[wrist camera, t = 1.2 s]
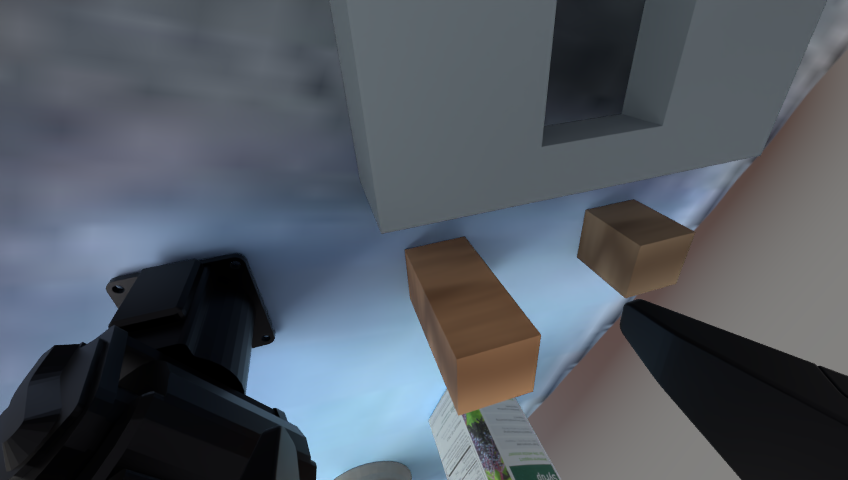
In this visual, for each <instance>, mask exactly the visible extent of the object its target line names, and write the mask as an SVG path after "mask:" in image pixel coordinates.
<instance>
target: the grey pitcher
mask: <svg viewBox="0 0 848 480" xmlns="http://www.w3.org/2000/svg"><path fill="white" fill-rule="evenodd" d="M334 480H412V478H411V472H410V470H409V469H408V467H406V466H405V465H403V464H401V463H398V462H392V461H381V462H373V463H368V464H365V465H361V466H358V467H356V468H353V469H351V470H349V471H347V472H345V473H343V474H341V475H340V476H338V477H337V478H335V479H334Z"/></svg>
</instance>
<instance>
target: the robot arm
mask: <svg viewBox="0 0 848 480" xmlns="http://www.w3.org/2000/svg"><path fill="white" fill-rule="evenodd" d="M233 261H237V262H239V263H240V264H239V265H234V264H232V262H233ZM116 285H119V286H122V287H123V288H124V289H120V288H117V287H116ZM106 290H107V293H108V294H109V296H110V297H111V299H112V300H113V302H114V303H115V304H116V306H117V307H118V310H117V312H116V314H115V315H114V317H113V319H112V320H111V322H110V324H109V326H108V328H109V329H108V330H106V331H105V332H104V333H103V334H101V335H100V336H99V337H97V338H96V339H94V340H93V341H91V342H90V343H88V344H86V343H84V342H82V343H80V344H71V345H54V346H53V347H52V348H50V349H49V350H48V351H47V352H45V353H44V354H43V355H42V356H41V357H40V359H39V360H38V361H37V363H36V364H35V365H34V367H33V368H32V369H31V371H30V372H29V373H28V375H27V376H26V377H25V379H24V380H23V382H22V383H21V384H20V386H19V387H18V389H17V390H16V392H15V394H14V395H13V397H12V399H11V402H10V405H9V407H8V408H7V409H6V410H5V411H4V412H3V413H2V414H1V415H0V480H316V469H317V466H316V463H315V462H314V461H312V460H311V456H310V452H309V448H308V444H307V440H306V437H305V436H304V435H303V433H302V432H301V431H300V430H299V428H298V427H297V426H295V425H293V424H291V423H289V422H288V421H287V418H286V416H285V413H284V412H283V411H281V410H279V409H277V408H273V409H272V408H270V407H268V406H266V405H264V404H262V403H260V402H258V401H256V400H254V399H252V398H250V397H248V396H246V387H247V380H248V372H249V364H250V357H251V349H252V348H255V347H259V346H263V345H267V344H270V343H272V342H273V341H274V339H275V331H274V329H273V326H272V323H271V321H270V318H269V316H268V313H267V311H266V308H265V306H264V303H263V301H262V298H261V295H260V293H259V290H258V288H257V285H256V283H255V280H254V278H253V275H252V272H251V270H250V267H249V265H248V262H247V260H246V258H245V257H244V256H243V255H242V254H238V253H233V254H228V255H223V256H218V257H213V258H208V259H203V260H197V259H191V260H186V261H181V262H176V263H171V264H166V265H161V266H156V267H151V268H146V269H143V270H142V271H141V272H139V273H134V274H129V275H124V276H119V277H115V278H112V279H111V280H110V282H109V283H108V284H107V286H106ZM620 329H621V331H622V333H623V335H624V336H625V338H626V339H627V340H628V342H629V343H630V344H631V346H632V347H633V349H634V350H635V352H636V353H637V354H638V356H639V357H640V359H641V360H642V361H643V363H644V364H645V366H646V367H647V368H648V370H649V371H650V373H651V374H652V375H653V376H654V378H655V379H656V381H657V382H658V383H659V384H660V386H661V387H662V388H663V389H664V391H665V392H666V393H667V394H668V395H669V396H670V397H671V399H672V400H673V401H674V402H675V403H676V404H677V405H678V407H679V408H680V409H681V410H682V411H683V413H684V414H685V415H686V416H687V417H688V418H689V420H690V421H691V422H692V423H693V424H694V425H695V427H696V428H697V429H698V430H699V431H700V432H701V433H702V434H703V436H704V437H705V438H706V439H707V440H708V442H709V443H710V444H711V445H712V446H713V447H714V449H715V450H716V451H717V452H718V453H719V454H720V455H721V457H722V458H723V459H724V460H725V461H726V462H727V464H728V465H729V466H730V467H731V468H732V469H733V471H734V472H735V473H736V474H737V475H738V476H739V478H740V479H741V480H848V376H847V375H844V374H841V373H838V372H835V371H833V370H830V369H828V368H825V367H822V366H817V365H816V364H814V363H811V362H809V361H806V360H803V359H800V358H798V357H795V356H792V355H789V354H787V353H784V352H782V351H779V350H776V349H773V348H771V347H768V346H766V345H763V344H760V343H758V342H755V341H752V340H750V339H747V338H744V337H741V336H739V335H736V334H733V333H730V332H728V331H725V330H723V329H720V328H717V327H715V326H712V325H709V324H706V323H704V322H701V321H699V320H696V319H693V318H691V317H688V316H685V315H683V314H679V313H677V312H674V311H672V310H669V309H666V308H664V307H661V306H658V305H656V304H653V303H650V302H647V301H645V300H642V299H636V300H633V301H630V302H628V303H626V304H625V305H624V307H623V311H622V316H621V320H620ZM264 335H268V337H264Z"/></svg>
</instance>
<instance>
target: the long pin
mask: <svg viewBox="0 0 848 480" xmlns="http://www.w3.org/2000/svg"><path fill="white" fill-rule="evenodd" d="M405 258H406V266H407V275H408V284H409V293H410V299H411V302H412V304H413V307H414V309H415V312H416V314H417V317H418V319H419V321H420V324H421V326H422V329H423V331H424V334H425V336H426V338H427V341H428V343H429V346H430V348H431V351H432V353H433V355H434V358H435V360H436V363H437V365H438V368H439V370H440V373H441V375H442V377H443V380H444V382H445V385H446V387H447V390H448V392H449V394H450V397H451V399H452V402H453V404H454V407H455V409H456V411H457V414H458V416H459V415H462V414H466V413H469V412H472V411H475V410H478V409H481V408H484V407H487V406H490V405H493V404H496V403H499V402H502V401H505V400H508V399H511V398H515V397H518V396H521V395H524V394H527V393H530V392H533V388H534V381H535V374H536V367H537V360H538V353H539V346H540V339H541V334H540V333H539V332H538V330H537V329H536V328H535V326H534V325H533V324H532V323H531V321H530V320H529V319H528V317H527V316H526V315H525V313H524V312H523V311H522V310H521V308H520V307H519V306H518V304H517V303H516V302H515V301H514V299H513V298H512V297H511V295H510V294H509V293H508V292H507V290H506V289H505V288H504V286H503V285H502V284H501V283H500V281H499V280H498V279H497V277H496V276H495V275H494V274H493V272H492V271H491V270H490V268H489V267H488V266H487V264H486V263H485V262H484V261H483V259H482V258H481V257H480V255H479V254H478V253H477V252H476V250H475V249H474V248H473V246H472V245H471V244H470V243H469V241H468V240H467V239H466V237H465V236H464V237H460V238H455V239H451V240H446V241H442V242H437V243H432V244H428V245H423V246H419V247H414V248H410V249H405Z"/></svg>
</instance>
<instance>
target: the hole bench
mask: <svg viewBox="0 0 848 480" xmlns="http://www.w3.org/2000/svg"><path fill="white" fill-rule="evenodd" d="M329 1H330V7H331V13H332V19H333V25H334V31H335V37H336V42H337V48H338V54H339V60H340V66H341V72H342V78H343V84H344V89H345V95H346V101H347V107H348V113H349V119H350V125H351V131H352V137H353V142H354V148H355V154H356V160H357V166H358V172H359V178H360V182H361V184H362V187H363V189H364V192H365V194H366V197H367V199H368V202H369V204H370V207H371V209H372V212H373V214H374V217H375V219H376V222H377V224H378V227H379V230H380V232H381V234H384V233H389V232H393V231H398V230H403V229H408V228H413V227H418V226H422V225H427V224H432V223H437V222H442V221H447V220H451V219H456V218H461V217H466V216H471V215H476V214H480V213H485V212H490V211H495V210H500V209H505V208H509V207H514V206H519V205H524V204H529V203H534V202H538V201H543V200H548V199H553V198H558V197H563V196H567V195H572V194H577V193H582V192H587V191H591V190H596V189H601V188H606V187H611V186H616V185H620V184H625V183H630V182H635V181H640V180H645V179H649V178H654V177H659V176H664V175H669V174H674V173H678V172H683V171H688V170H693V169H698V168H703V167H707V166H712V165H717V164H722V163H727V162H732V161H736V160H741V159H746V158H751V157H756V156H760V155H761V154H762V151H763V149H764V147H765V144H766V142H767V140H768V137H769V135H770V133H771V130H772V128H773V126H774V123H775V121H776V119H777V116H778V114H779V112H780V109H781V107H782V105H783V102H784V100H785V98H786V95H787V93H788V91H789V88H790V86H791V84H792V81H793V79H794V77H795V74H796V72H797V70H798V67H799V65H800V63H801V60H802V58H803V56H804V53H805V51H806V49H807V46H808V44H809V42H810V39H811V37H812V35H813V32H814V30H815V28H816V25H817V23H818V21H819V18H820V16H821V14H822V11H823V9H824V7H825V4H826V2H827V0H645V5H644V10H643V15H642V19H641V24H640V29H639V34H638V38H637V43H636V48H635V53H634V57H633V62H632V67H631V72H630V76H629V81H628V86H627V91H626V95H625V100H624V105H623V110H622V114H618V115H611V116H605V117H599V118H593V119H586V120H580V121H574V122H568V123H561V124H555V125H549V126H544V119H545V110H546V100H547V91H548V81H549V71H550V62H551V52H552V42H553V33H554V23H555V13H556V4H557V0H329Z"/></svg>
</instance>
